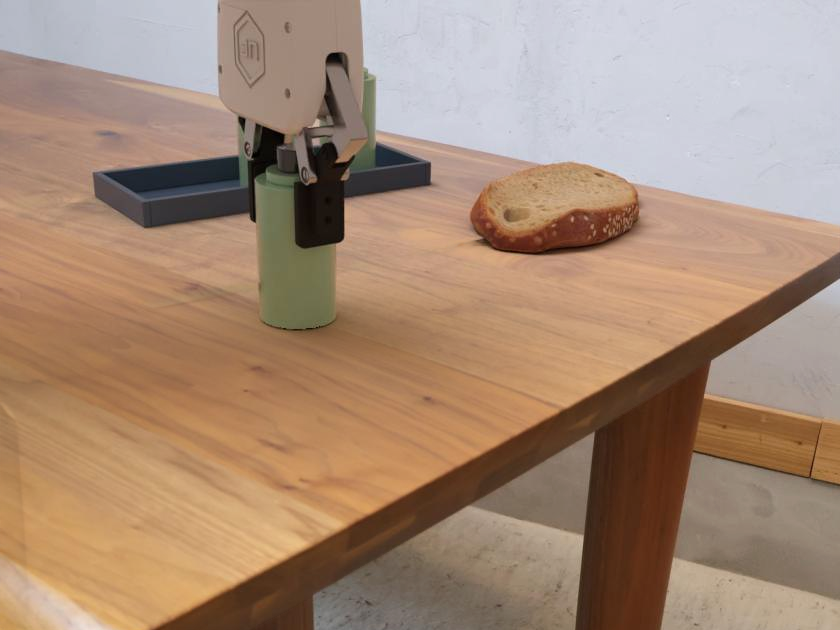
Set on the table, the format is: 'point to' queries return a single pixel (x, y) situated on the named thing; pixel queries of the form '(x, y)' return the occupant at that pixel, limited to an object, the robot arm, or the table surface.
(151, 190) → the tray
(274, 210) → the bottle loose
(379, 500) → the table surface
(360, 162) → the bottle far
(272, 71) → the robot arm
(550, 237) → the slice of bread
